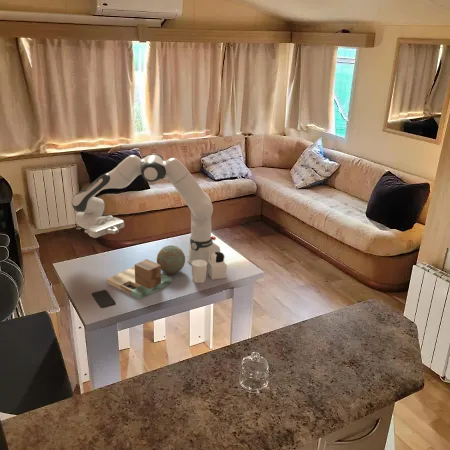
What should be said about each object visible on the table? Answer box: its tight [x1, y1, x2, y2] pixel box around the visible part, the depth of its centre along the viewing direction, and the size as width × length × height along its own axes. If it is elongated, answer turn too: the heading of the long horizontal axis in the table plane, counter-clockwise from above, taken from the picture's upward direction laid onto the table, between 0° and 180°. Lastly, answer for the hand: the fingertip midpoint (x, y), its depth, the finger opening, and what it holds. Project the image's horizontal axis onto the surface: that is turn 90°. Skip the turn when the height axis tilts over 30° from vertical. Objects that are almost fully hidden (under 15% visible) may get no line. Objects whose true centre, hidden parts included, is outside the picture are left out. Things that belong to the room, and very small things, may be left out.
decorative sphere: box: [156, 245, 186, 275], centre depth 247 cm, size 15×15×15 cm
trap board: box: [106, 265, 173, 300], centre depth 237 cm, size 22×24×2 cm
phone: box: [91, 289, 117, 309], centre depth 222 cm, size 7×1×15 cm
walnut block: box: [134, 258, 162, 289], centre depth 231 cm, size 8×10×10 cm
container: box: [207, 251, 227, 281], centre depth 245 cm, size 8×8×13 cm
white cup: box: [191, 260, 208, 284], centre depth 241 cm, size 8×8×10 cm
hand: (116, 231), depth 237 cm, fingers closed
